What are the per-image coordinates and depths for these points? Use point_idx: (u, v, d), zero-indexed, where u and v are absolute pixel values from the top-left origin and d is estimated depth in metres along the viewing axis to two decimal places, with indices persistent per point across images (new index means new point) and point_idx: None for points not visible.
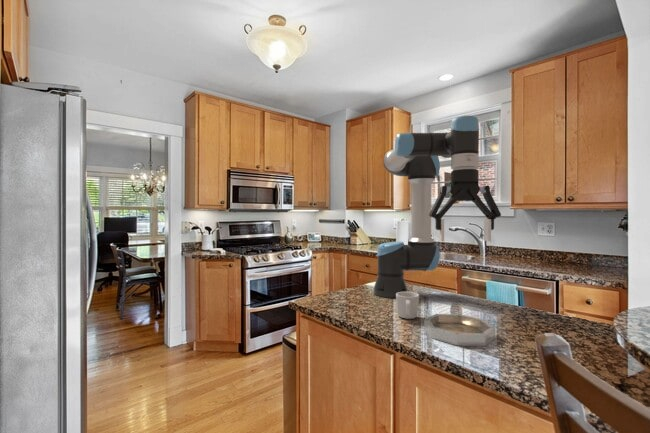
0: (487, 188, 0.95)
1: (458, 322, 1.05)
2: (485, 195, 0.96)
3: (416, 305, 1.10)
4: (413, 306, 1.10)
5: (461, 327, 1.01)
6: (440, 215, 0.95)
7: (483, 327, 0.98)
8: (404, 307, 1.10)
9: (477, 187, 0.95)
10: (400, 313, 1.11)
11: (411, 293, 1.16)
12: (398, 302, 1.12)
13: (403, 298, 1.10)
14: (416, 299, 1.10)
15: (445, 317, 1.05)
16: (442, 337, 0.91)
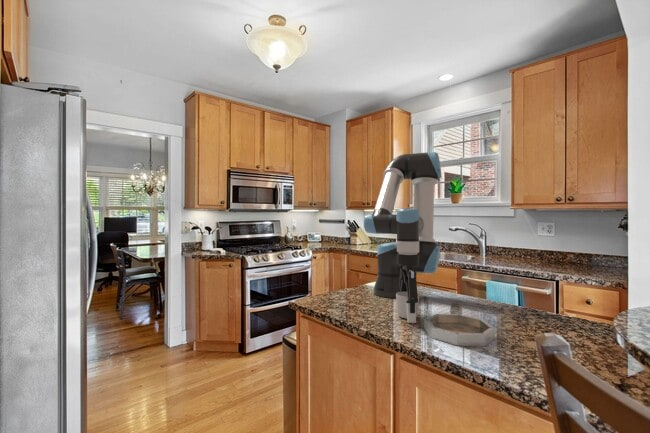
0: (408, 274, 1.06)
1: (458, 322, 1.05)
2: None
3: (416, 305, 1.10)
4: None
5: (461, 327, 1.01)
6: (400, 290, 1.18)
7: (483, 327, 0.98)
8: (404, 307, 1.10)
9: (406, 270, 1.08)
10: (400, 313, 1.11)
11: None
12: (398, 302, 1.12)
13: (403, 298, 1.10)
14: None
15: (445, 317, 1.05)
16: (442, 337, 0.91)
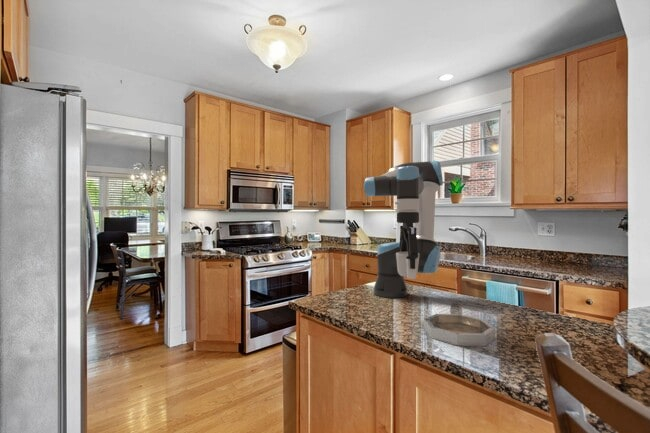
0: (408, 230, 1.06)
1: (458, 322, 1.05)
2: None
3: (416, 263, 1.10)
4: None
5: (461, 327, 1.01)
6: (400, 250, 1.18)
7: (483, 327, 0.98)
8: (404, 265, 1.10)
9: (406, 227, 1.08)
10: (400, 271, 1.12)
11: None
12: (398, 260, 1.12)
13: (403, 256, 1.10)
14: None
15: (445, 317, 1.05)
16: (442, 337, 0.91)
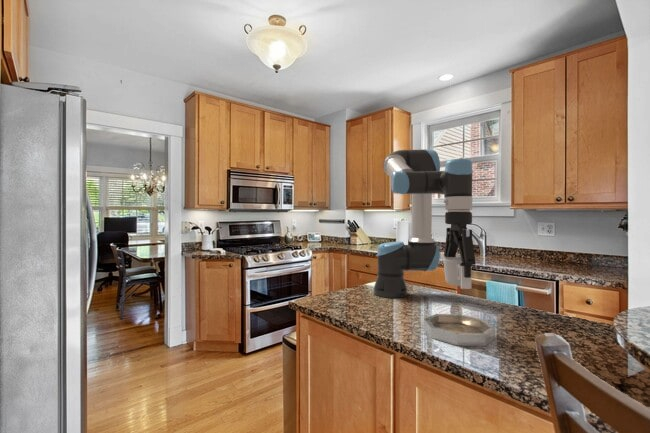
0: (462, 232, 0.91)
1: (458, 322, 1.05)
2: None
3: None
4: None
5: (461, 327, 1.01)
6: (446, 256, 1.04)
7: (483, 327, 0.98)
8: (455, 272, 0.95)
9: (458, 229, 0.94)
10: (450, 280, 0.97)
11: (460, 258, 1.01)
12: (447, 267, 0.97)
13: (453, 262, 0.95)
14: None
15: (445, 317, 1.05)
16: (442, 337, 0.91)
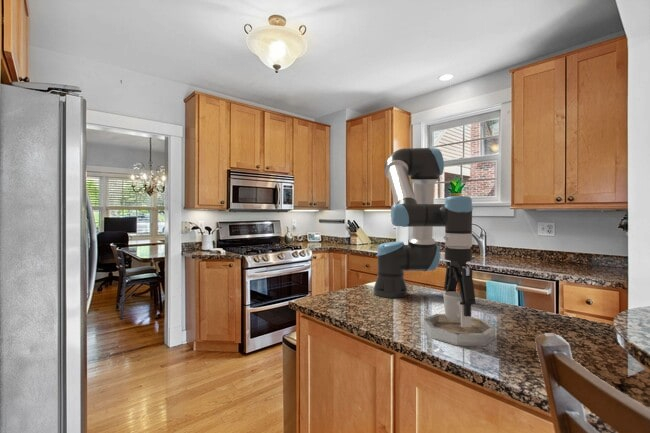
0: (462, 271, 0.91)
1: None
2: None
3: None
4: None
5: (461, 327, 1.01)
6: (446, 290, 1.04)
7: (483, 327, 0.98)
8: (455, 309, 0.96)
9: (458, 267, 0.94)
10: (450, 316, 0.97)
11: None
12: (447, 303, 0.97)
13: (453, 299, 0.96)
14: None
15: (445, 317, 1.05)
16: (442, 337, 0.91)
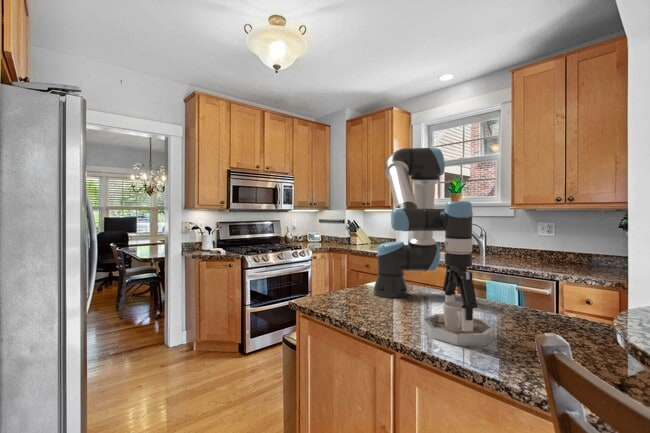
0: (462, 275, 0.91)
1: None
2: None
3: None
4: None
5: None
6: (445, 291, 1.05)
7: (483, 327, 0.98)
8: (454, 319, 0.96)
9: (458, 272, 0.94)
10: (449, 326, 0.97)
11: (460, 303, 1.02)
12: (447, 313, 0.97)
13: (453, 309, 0.96)
14: None
15: None
16: (442, 337, 0.91)
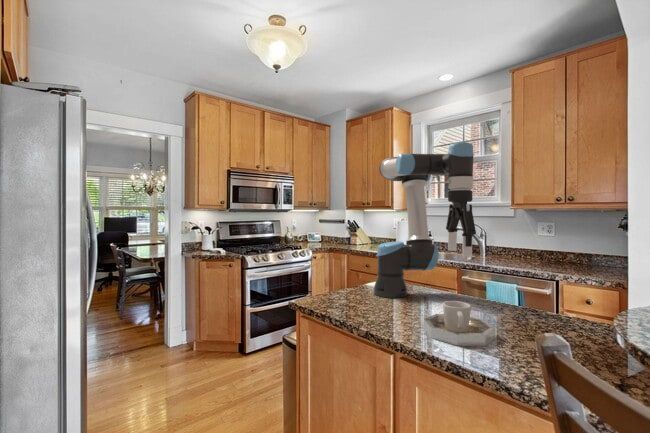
0: (463, 207, 1.02)
1: None
2: None
3: (468, 317, 0.96)
4: (465, 318, 0.96)
5: None
6: (448, 229, 1.16)
7: (483, 327, 0.98)
8: (454, 319, 0.96)
9: (460, 206, 1.04)
10: (449, 326, 0.97)
11: (460, 303, 1.02)
12: (447, 313, 0.97)
13: (453, 309, 0.96)
14: (468, 310, 0.96)
15: None
16: (442, 337, 0.91)
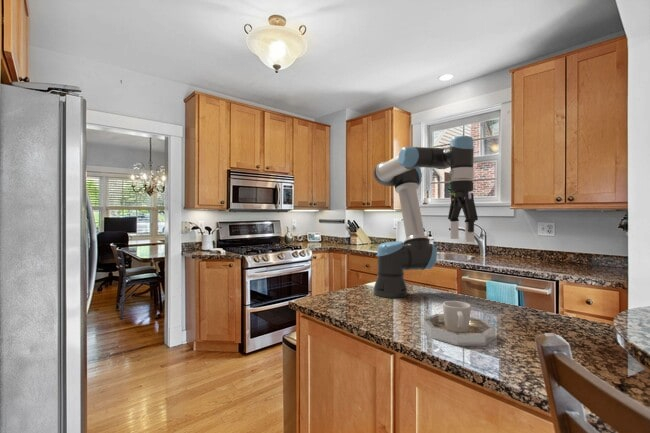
0: (465, 195, 1.09)
1: None
2: None
3: (468, 317, 0.96)
4: (465, 318, 0.96)
5: None
6: (450, 218, 1.23)
7: (483, 327, 0.98)
8: (454, 319, 0.96)
9: (462, 195, 1.12)
10: (449, 326, 0.97)
11: (460, 303, 1.02)
12: (447, 313, 0.97)
13: (453, 309, 0.96)
14: (468, 310, 0.96)
15: None
16: (442, 337, 0.91)
